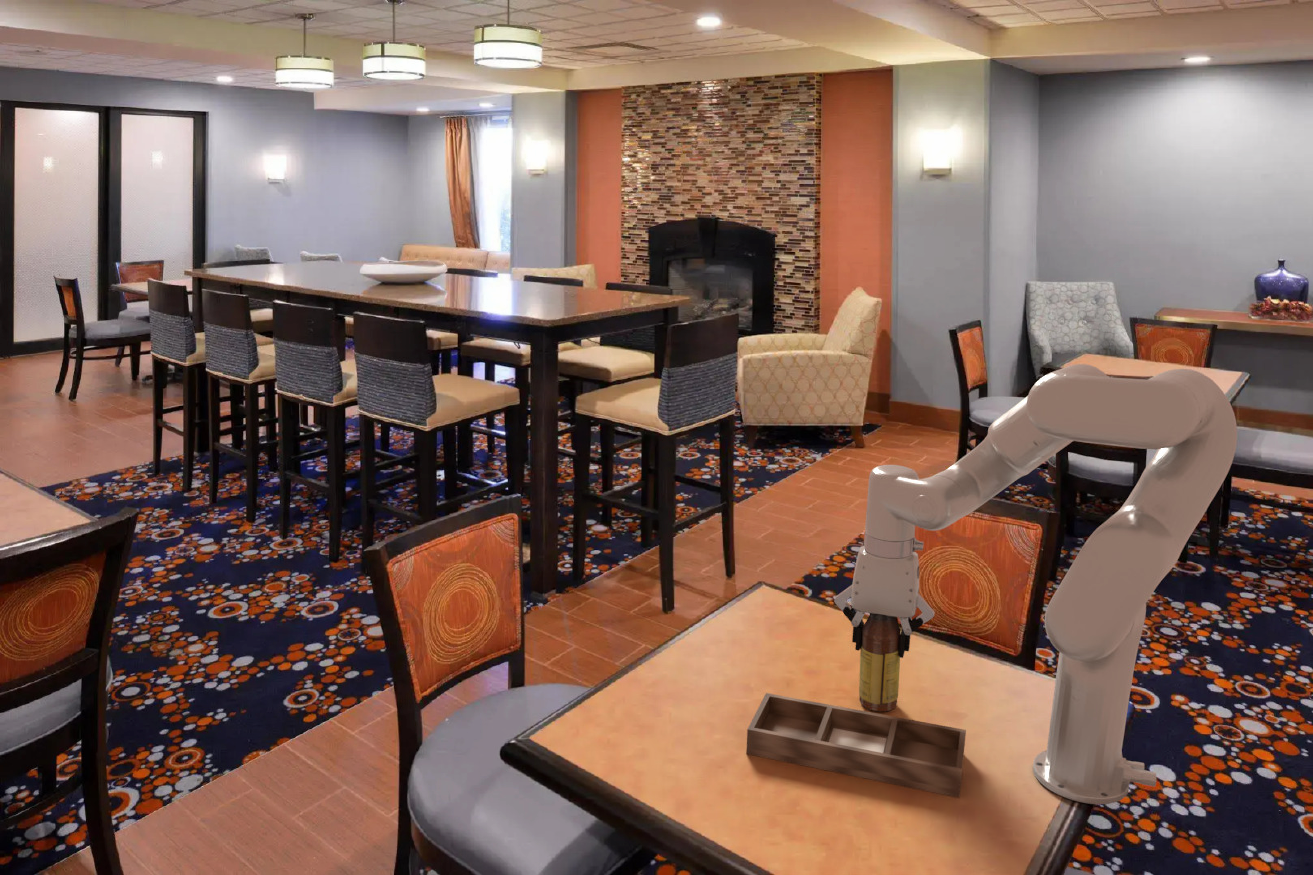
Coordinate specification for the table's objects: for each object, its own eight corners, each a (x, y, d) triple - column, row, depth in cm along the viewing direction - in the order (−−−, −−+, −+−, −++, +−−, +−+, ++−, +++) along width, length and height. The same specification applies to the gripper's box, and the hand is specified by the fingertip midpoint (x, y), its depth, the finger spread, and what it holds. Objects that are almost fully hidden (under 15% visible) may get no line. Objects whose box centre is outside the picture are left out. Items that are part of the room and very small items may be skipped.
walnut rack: (963, 754, 147) (966, 729, 146) (959, 797, 136) (961, 771, 135) (764, 715, 156) (765, 692, 155) (746, 753, 146) (747, 729, 145)
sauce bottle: (894, 696, 163) (904, 584, 158) (899, 715, 157) (910, 599, 152) (854, 693, 164) (863, 581, 159) (857, 712, 158) (867, 596, 153)
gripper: (947, 544, 154) (937, 649, 159) (837, 530, 160) (830, 632, 164) (944, 560, 148) (933, 670, 152) (829, 544, 153) (822, 651, 158)
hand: (880, 649), depth 158 cm, fingers closed on sauce bottle, 6 cm apart
